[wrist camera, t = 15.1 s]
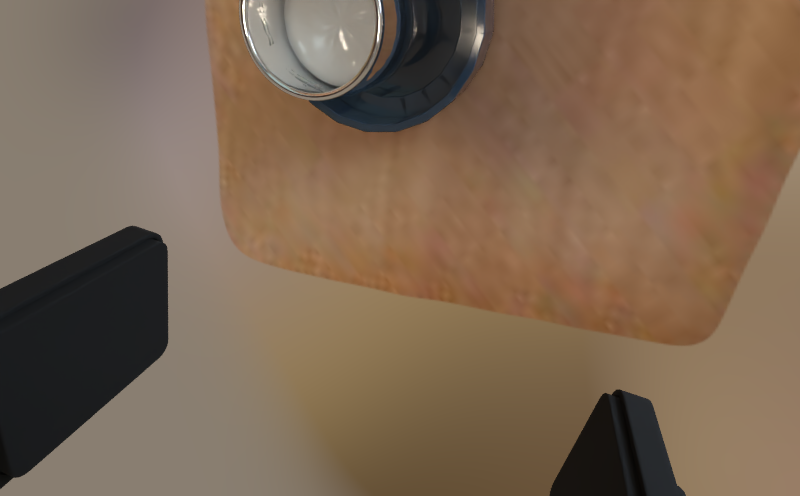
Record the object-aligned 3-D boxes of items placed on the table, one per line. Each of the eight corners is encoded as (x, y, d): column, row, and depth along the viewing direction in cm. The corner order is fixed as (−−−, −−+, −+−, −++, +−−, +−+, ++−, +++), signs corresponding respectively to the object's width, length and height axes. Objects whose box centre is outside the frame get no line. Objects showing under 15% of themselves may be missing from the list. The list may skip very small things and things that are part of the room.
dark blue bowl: (372, -135, 31) (334, -171, 25) (535, -12, 31) (535, -20, 26) (287, 48, 37) (241, 53, 31) (424, 149, 38) (404, 171, 32)
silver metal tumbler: (440, 81, 35) (379, 116, 21) (348, 68, 36) (237, 94, 23) (455, -31, 32) (394, -70, 18) (353, -40, 33) (229, -83, 20)
